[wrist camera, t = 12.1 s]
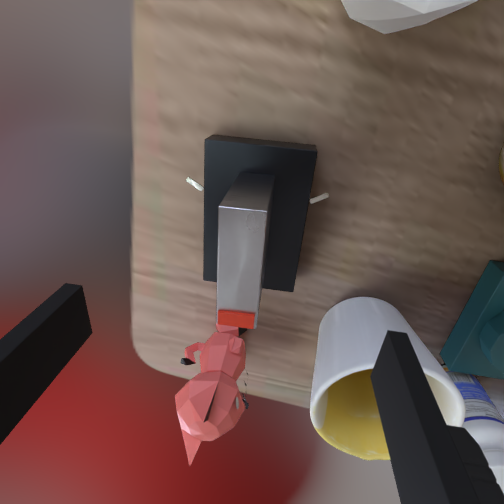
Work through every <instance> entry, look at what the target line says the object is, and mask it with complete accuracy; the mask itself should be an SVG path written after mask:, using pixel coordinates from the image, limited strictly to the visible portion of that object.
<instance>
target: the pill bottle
mask: <svg viewBox="0 0 504 504" xmlns="http://www.w3.org/2000/svg"><path fill="white" fill-rule="evenodd" d="M441 367H442V368H443V369H444V371H445V372H446V373H447V375H448V376H449V377H450V379H451V380H452V381H453V383H454V384H455V385H456V387H457V388H458V390H459V391H460V393H461V395H462V397H463V399H464V402H465V407H466V414H465V419H464V422H463V425H462V428H465V429H466V430H467V431H468V432H469V434H470V435H471V436H472V437H473V438H474V439H475V441H476V442H477V443H478V444H479V445H480V447H481V449H482V451H483V453H484V455H485V457H486V459H487V461H488V463H489V468H491V469H492V471H493V473H494V475H495V477H496V479H497V481H496V482H497V484H499V485H500V487H501V489H502V491H503V493H504V420H503V419H502V417H501V415H500V414H499V412H498V411H497V409H496V407H495V406H494V404H493V403H492V401H491V400H490V398H489V396H488V395H487V393H486V392H485V390H484V389H483V387H482V386H481V384H480V382H479V381H478V379H477V378H476V376H475V375H473V374H467V373H461V372H454V371H449V370H448V368H447V366H446V365H443V366H441Z"/></svg>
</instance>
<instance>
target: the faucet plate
mask: <svg viewBox="0 0 504 504" xmlns="http://www.w3.org/2000/svg"><path fill="white" fill-rule="evenodd" d="M316 158H317V149H316V146H315V145H309V144H300V143H290V142H280V141H270V140H261V139H251V138H241V137H231V136H222V135H211V136H210V137H208V138H206V139H205V159H204V187H203V186H201V185H200V184H199V183H197V182H196V181H194V180H193V179H191V178H190V177H188V178H187V179H186V181H187V182H188V183H190V184H191V185H193V186H194V187H196V188H197V189H198V190H200V191H202V190H203V188H204V272H203V280H205V281H212V282H217V257H218V209H219V205H220V204H221V202H222V200H223V199H224V197H225V196H226V194H227V192H228V191H229V189H230V187H231V186H232V184H233V183H234V181H235V179H236V178H237V176H238V174H239V173H240V172H244V173H254V174H264V175H274V176H275V180H274V190H273V199H272V209H271V218H270V228H269V237H268V247H267V257H266V266H265V274H264V280H263V287H262V288H265V289H272V290H280V291H288V292H293V290H294V285H295V279H296V273H297V267H298V262H299V256H300V250H301V244H302V238H303V233H304V227H305V221H306V215H307V210H308V204H309V200H310V203H311V204H312V203H315V202H317V201H320V200H323V199H325V198H328V197H329V195H328V192H326V193H324V194H321V195H319V196H316V197H314V198H311V199H309V198H310V192H311V187H312V181H313V175H314V169H315V163H316Z"/></svg>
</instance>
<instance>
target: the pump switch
mask: <svg viewBox="0 0 504 504" xmlns="http://www.w3.org/2000/svg"><path fill="white" fill-rule="evenodd" d="M440 355H441V357H442V359H443V360H444V362H445V364H446V366H447V368H448V370H449V371H454V372H461V373H467V374H473V375H479V376H485V377H491V378H497V379H503V380H504V262H499V261H492V260H490V261H489V263H488V265H487V267H486V269H485V271H484V272H483V274H482V276H481V278H480V280H479V282H478V284H477V285H476V287H475V289H474V291H473V293H472V295H471V297H470V298H469V300H468V302H467V304H466V306H465V308H464V310H463V311H462V313H461V315H460V317H459V319H458V321H457V323H456V325H455V326H454V328H453V330H452V332H451V334H450V336H449V338H448V339H447V341H446V343H445V345H444V347H443V349H442V351H441V352H440Z"/></svg>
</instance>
